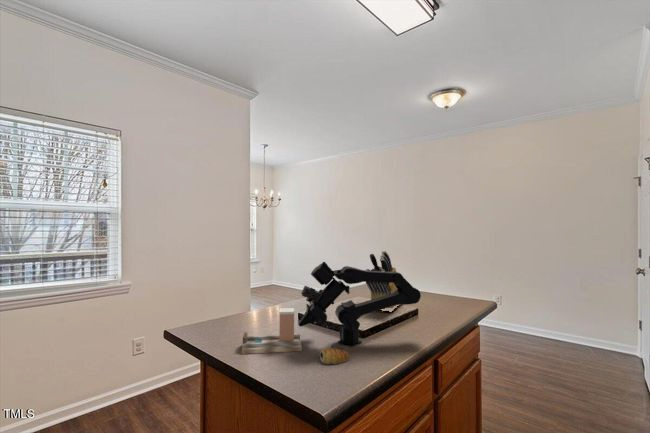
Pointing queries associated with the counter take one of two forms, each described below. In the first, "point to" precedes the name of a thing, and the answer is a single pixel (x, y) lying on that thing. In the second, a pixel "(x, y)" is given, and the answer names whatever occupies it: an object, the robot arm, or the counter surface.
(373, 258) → the knife block
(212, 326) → the counter surface
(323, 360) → the pastry
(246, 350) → the track
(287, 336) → the pink tall block
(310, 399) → the counter surface
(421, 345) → the counter surface
